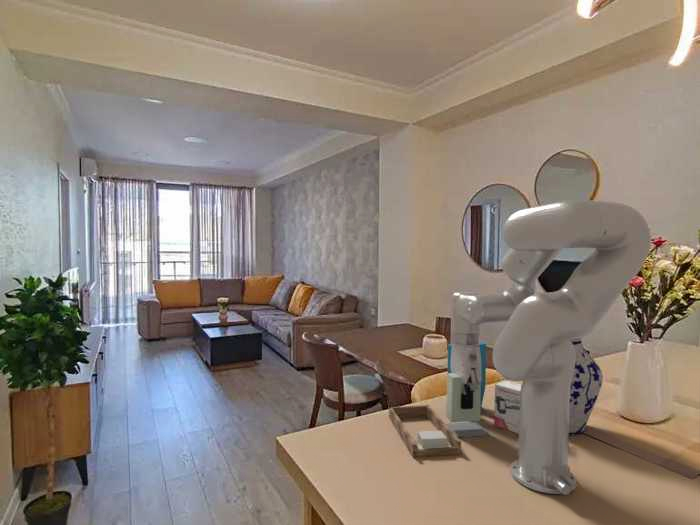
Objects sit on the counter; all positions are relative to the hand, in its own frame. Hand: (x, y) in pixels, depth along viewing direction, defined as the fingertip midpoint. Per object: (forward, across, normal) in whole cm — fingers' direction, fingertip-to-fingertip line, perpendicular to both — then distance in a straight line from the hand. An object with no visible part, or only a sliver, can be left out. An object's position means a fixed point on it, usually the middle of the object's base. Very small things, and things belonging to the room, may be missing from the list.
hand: (463, 404), depth 110 cm
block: (+7, +14, -7) cm, 17 cm away
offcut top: (+5, -9, +12) cm, 16 cm away
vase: (+7, -1, -28) cm, 29 cm away
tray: (+7, -1, +12) cm, 14 cm away
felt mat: (+7, 0, 0) cm, 7 cm away
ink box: (+7, 0, -14) cm, 16 cm away
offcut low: (+7, -9, +12) cm, 17 cm away
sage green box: (+4, 0, 0) cm, 4 cm away
